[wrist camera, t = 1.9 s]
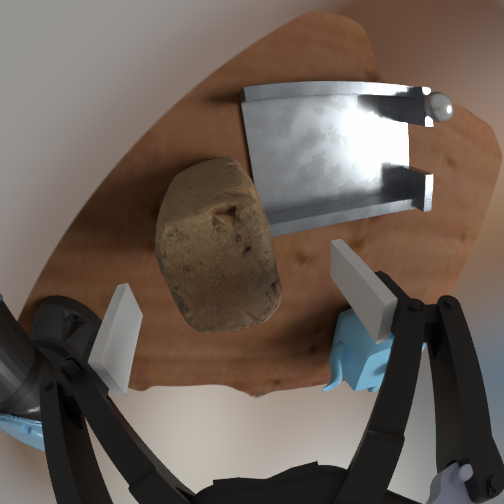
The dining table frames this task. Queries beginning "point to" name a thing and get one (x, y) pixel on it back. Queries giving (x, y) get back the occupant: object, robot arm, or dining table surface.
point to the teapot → (357, 355)
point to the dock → (336, 150)
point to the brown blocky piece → (217, 248)
